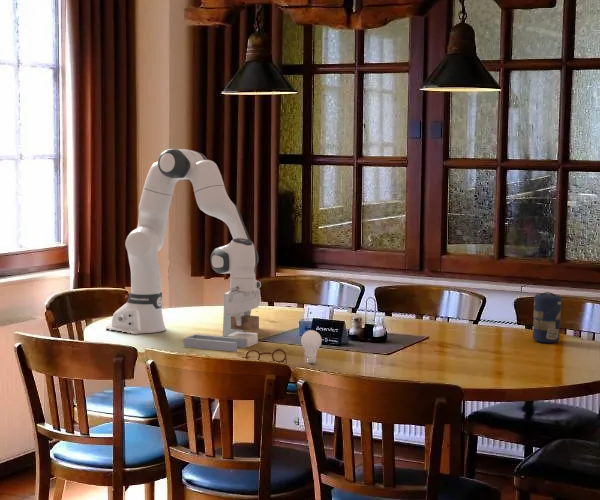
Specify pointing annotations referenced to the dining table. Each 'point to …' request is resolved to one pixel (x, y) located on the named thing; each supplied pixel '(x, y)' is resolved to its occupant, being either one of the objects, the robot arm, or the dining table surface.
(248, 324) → the walnut blank
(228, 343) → the grey rectangular tray
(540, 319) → the canister
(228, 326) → the skincare box
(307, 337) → the light bulb
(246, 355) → the glasses
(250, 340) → the ceramic pedestal
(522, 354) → the dining table surface
